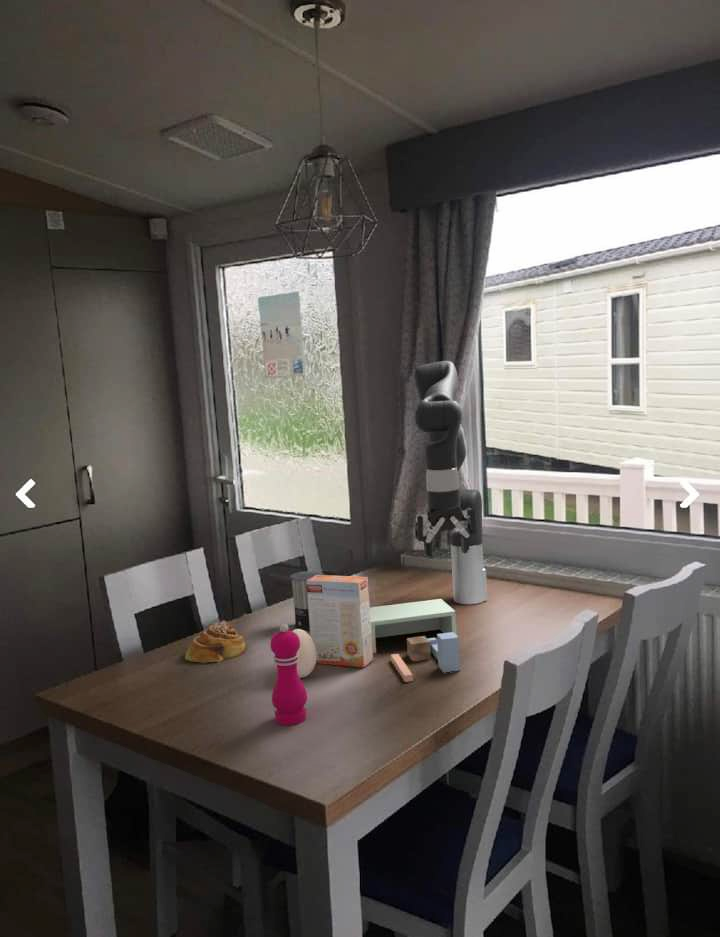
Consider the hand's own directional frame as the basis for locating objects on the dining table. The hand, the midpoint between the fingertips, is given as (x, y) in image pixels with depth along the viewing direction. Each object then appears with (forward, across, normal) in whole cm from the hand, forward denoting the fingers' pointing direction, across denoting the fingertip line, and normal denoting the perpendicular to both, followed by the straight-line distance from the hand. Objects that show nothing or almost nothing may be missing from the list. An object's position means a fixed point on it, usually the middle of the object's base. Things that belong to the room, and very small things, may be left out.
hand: (447, 555), depth 188 cm
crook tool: (+25, +5, 0) cm, 26 cm away
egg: (+25, +36, -2) cm, 44 cm away
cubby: (+26, +6, -17) cm, 31 cm away
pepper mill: (+24, +42, +20) cm, 52 cm away
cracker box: (+25, +26, -8) cm, 37 cm away
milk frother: (+26, +25, -39) cm, 53 cm away
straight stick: (+25, +14, +3) cm, 29 cm away
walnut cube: (+26, +8, -4) cm, 27 cm away
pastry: (+26, +55, -26) cm, 66 cm away
